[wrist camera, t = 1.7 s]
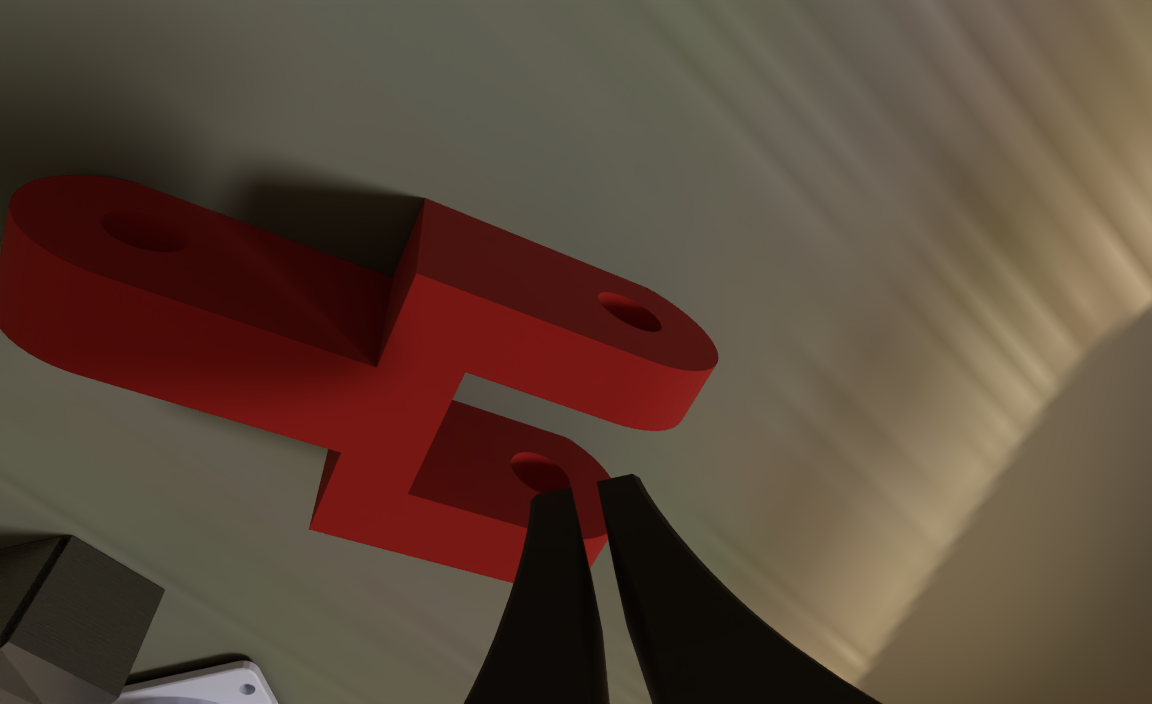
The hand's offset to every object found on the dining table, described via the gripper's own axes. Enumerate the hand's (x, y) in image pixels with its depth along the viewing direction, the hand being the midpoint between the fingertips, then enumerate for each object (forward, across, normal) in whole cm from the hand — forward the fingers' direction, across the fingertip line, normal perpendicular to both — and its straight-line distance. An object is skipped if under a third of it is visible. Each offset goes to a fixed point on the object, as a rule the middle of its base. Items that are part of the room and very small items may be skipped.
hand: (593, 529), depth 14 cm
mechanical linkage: (+10, +4, 0) cm, 11 cm away
